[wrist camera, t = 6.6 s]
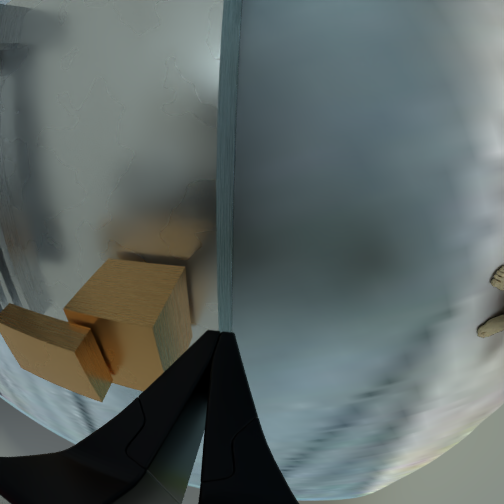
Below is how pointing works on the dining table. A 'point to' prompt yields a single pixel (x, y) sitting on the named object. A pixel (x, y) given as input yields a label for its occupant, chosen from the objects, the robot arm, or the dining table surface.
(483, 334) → the toy
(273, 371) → the dining table surface
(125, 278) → the tab
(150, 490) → the robot arm
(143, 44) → the grey piece
